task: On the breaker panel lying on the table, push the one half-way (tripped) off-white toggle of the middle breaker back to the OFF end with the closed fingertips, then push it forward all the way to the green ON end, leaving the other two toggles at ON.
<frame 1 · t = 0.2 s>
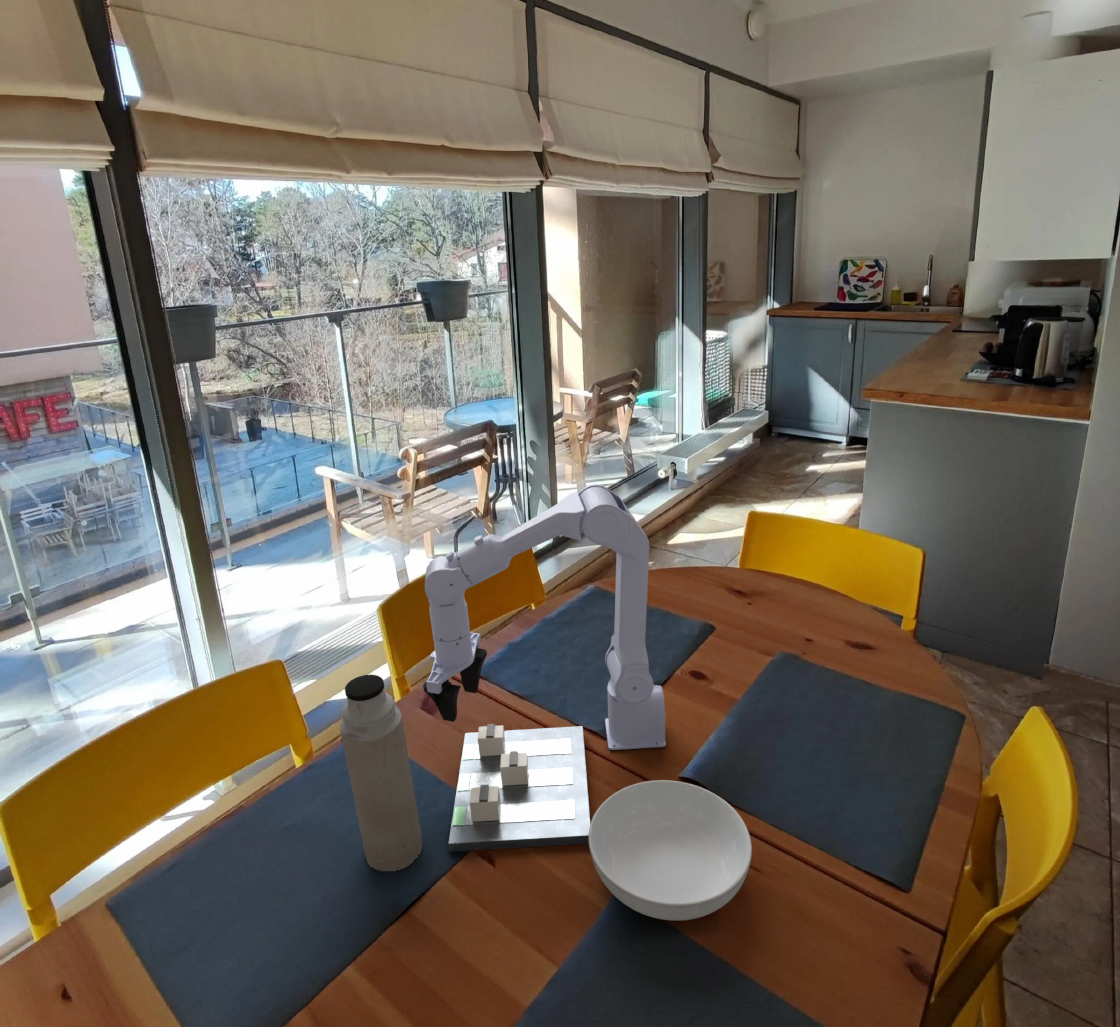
hand: (460, 705, 120), 10 cm above the table, fingers open, 7 cm apart
serving bowl: (669, 875, 99), on the table
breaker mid: (514, 767, 114), point 4 cm above the table, slide at 0.0 cm
panel: (522, 786, 116), on the table
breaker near: (485, 802, 108), point 4 cm above the table, slide at 4.0 cm
thermos bottle: (394, 850, 105), on the table
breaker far: (491, 739, 121), point 4 cm above the table, slide at 4.0 cm
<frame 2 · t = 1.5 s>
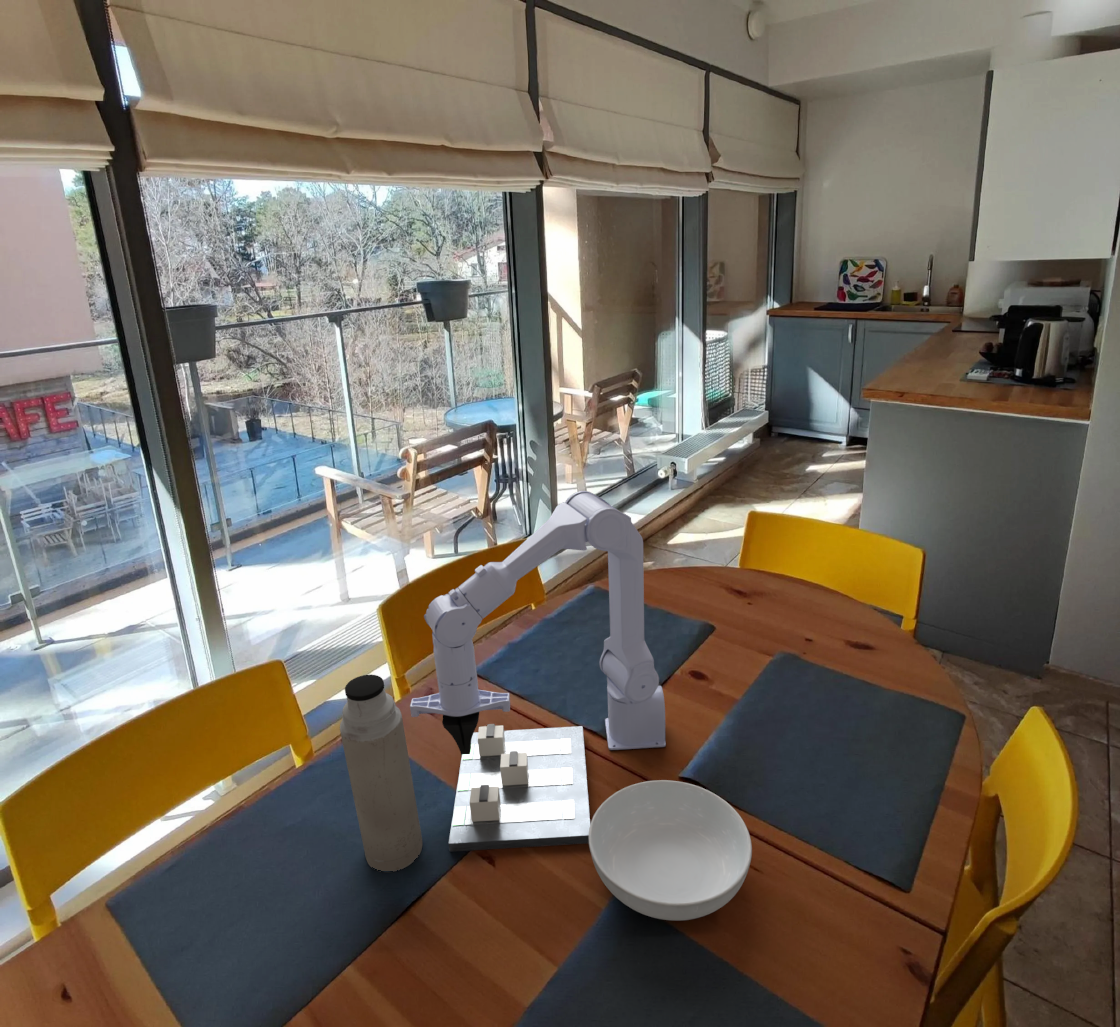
hand: (466, 750, 113), 8 cm above the table, fingers closed
nothing on the table moved.
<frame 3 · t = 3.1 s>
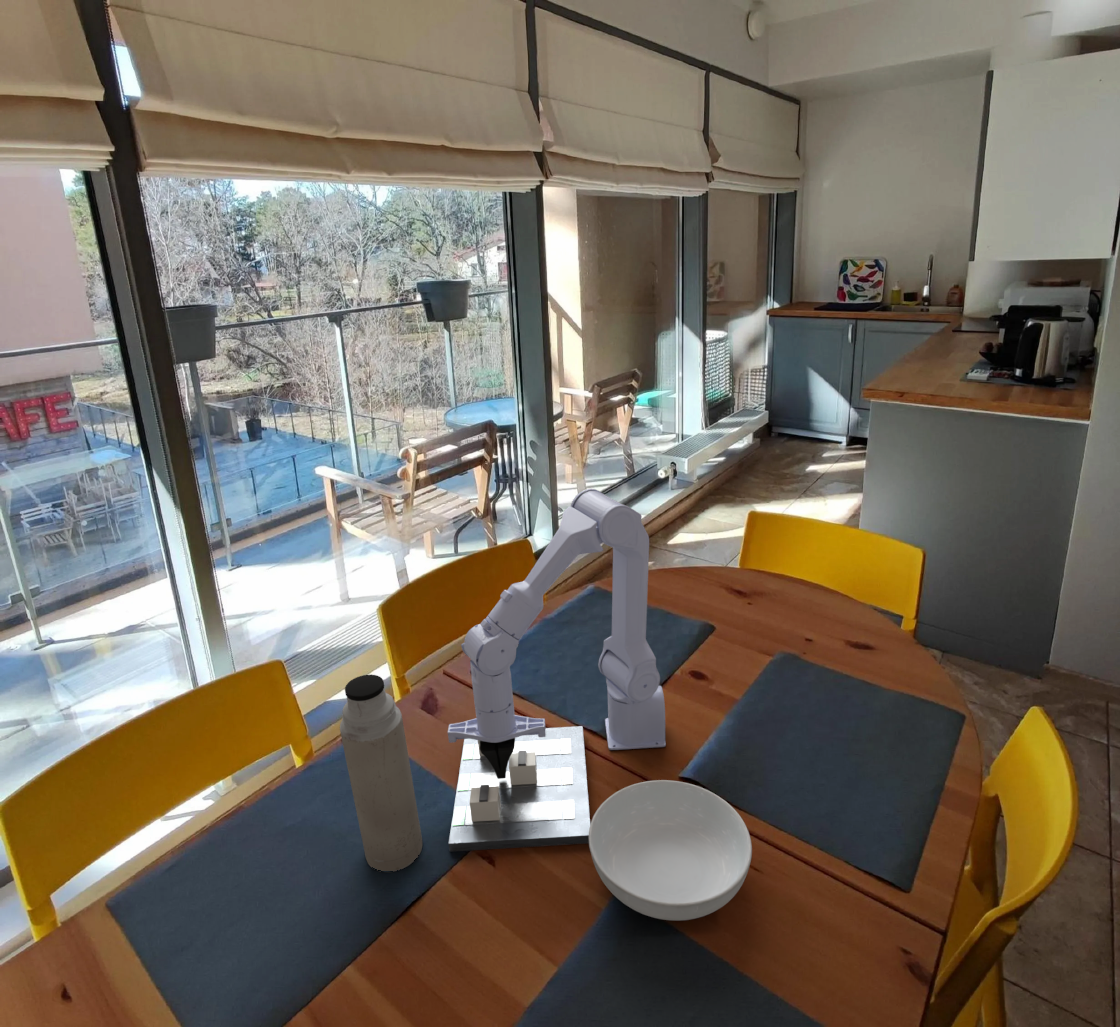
hand: (501, 774, 115), 3 cm above the table, fingers closed
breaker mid: (523, 767, 114), point 4 cm above the table, slide at -1.3 cm, touching gripper
everything else where it was.
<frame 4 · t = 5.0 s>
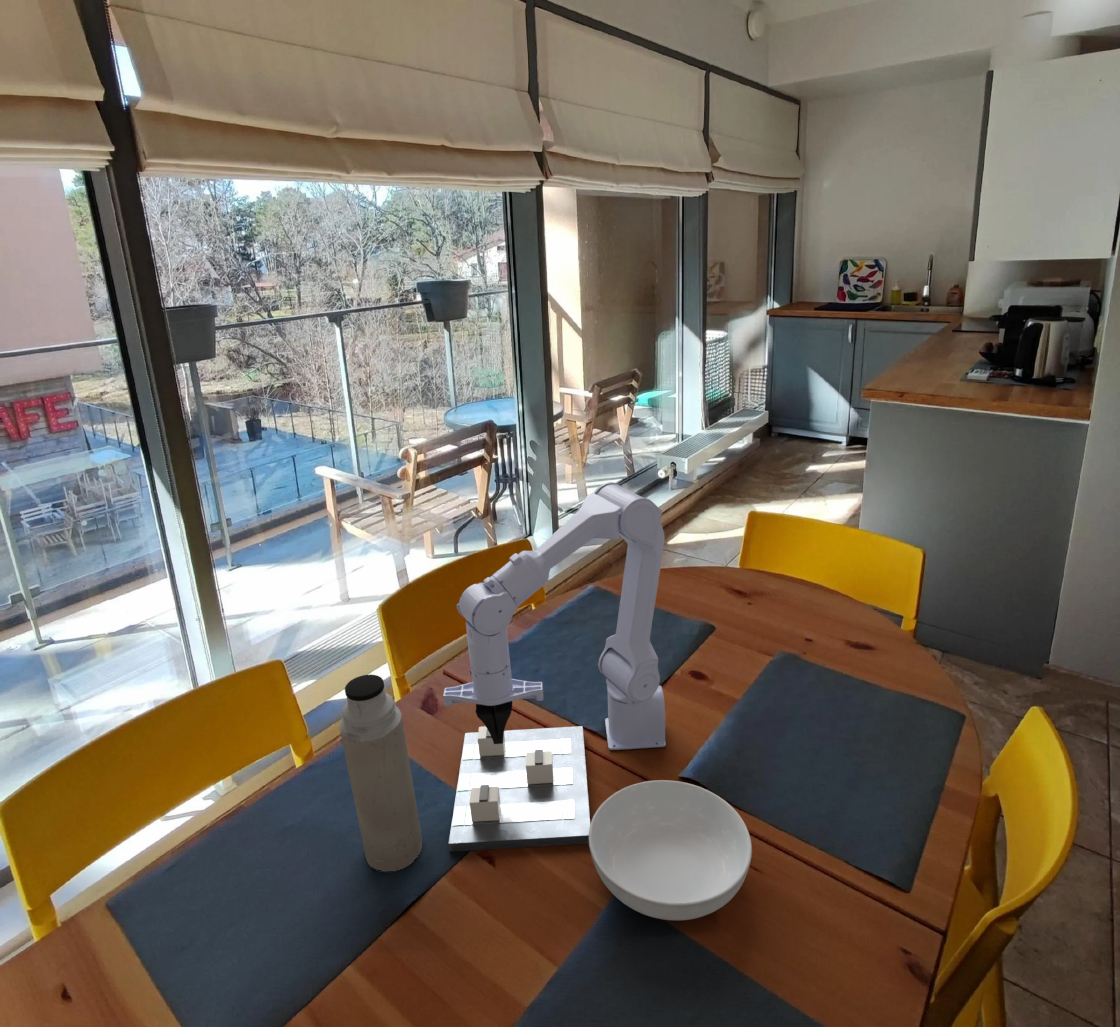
hand: (498, 739, 112), 9 cm above the table, fingers closed
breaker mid: (539, 766, 114), point 4 cm above the table, slide at -3.9 cm
everything else where it was.
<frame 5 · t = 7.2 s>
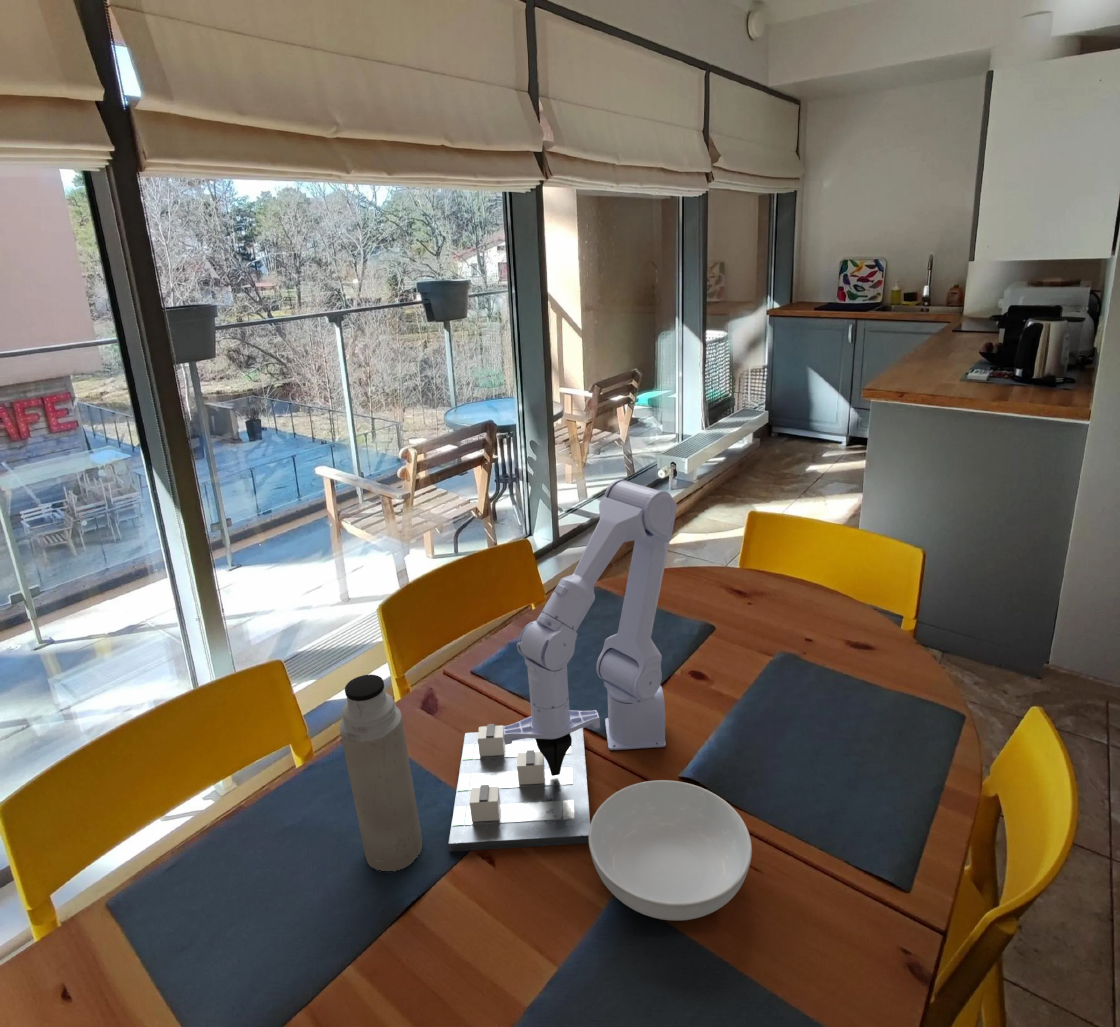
hand: (554, 771, 114), 3 cm above the table, fingers closed
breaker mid: (531, 766, 114), point 4 cm above the table, slide at -2.5 cm, touching gripper
everything else where it was.
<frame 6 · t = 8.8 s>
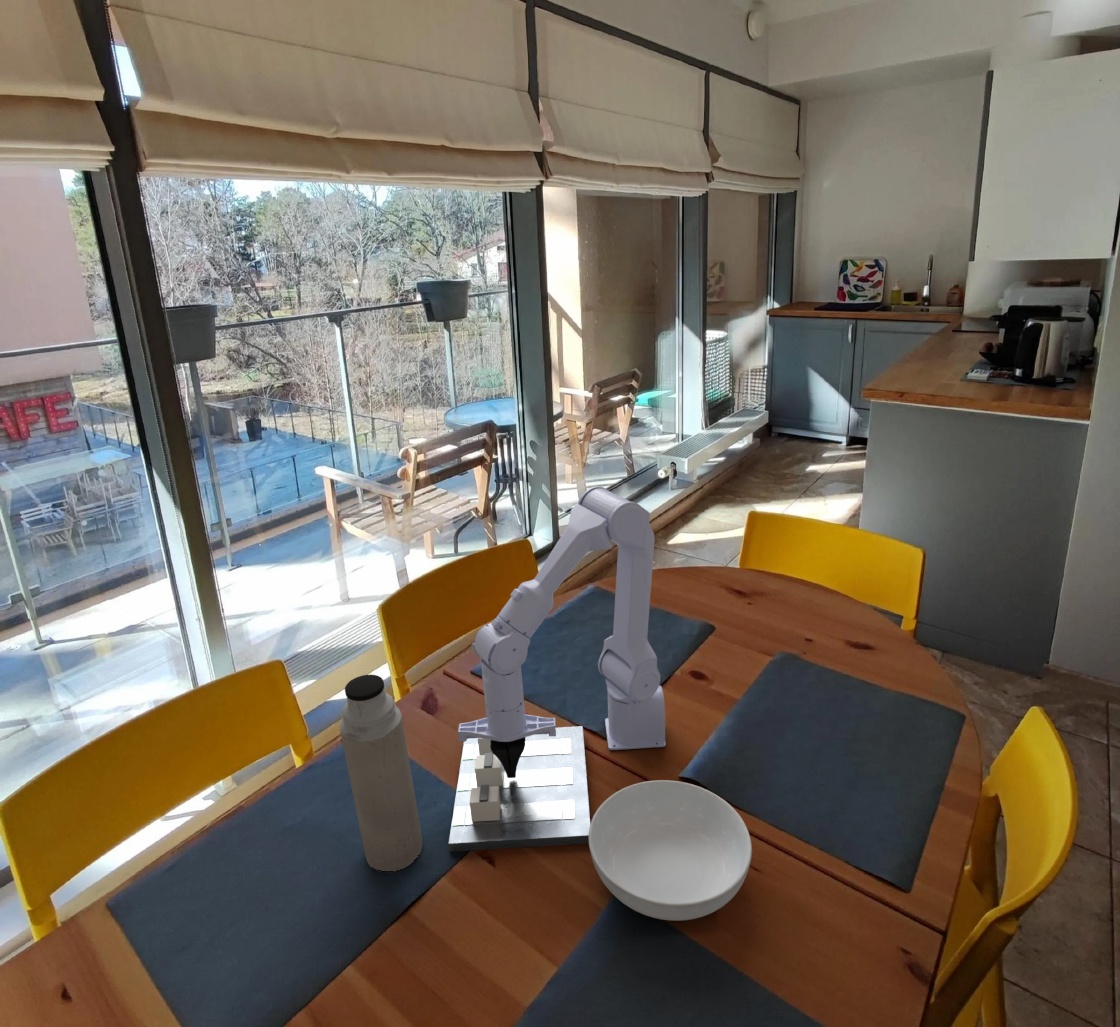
hand: (511, 773, 114), 3 cm above the table, fingers closed
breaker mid: (489, 769, 114), point 4 cm above the table, slide at 3.9 cm, touching gripper
everything else where it was.
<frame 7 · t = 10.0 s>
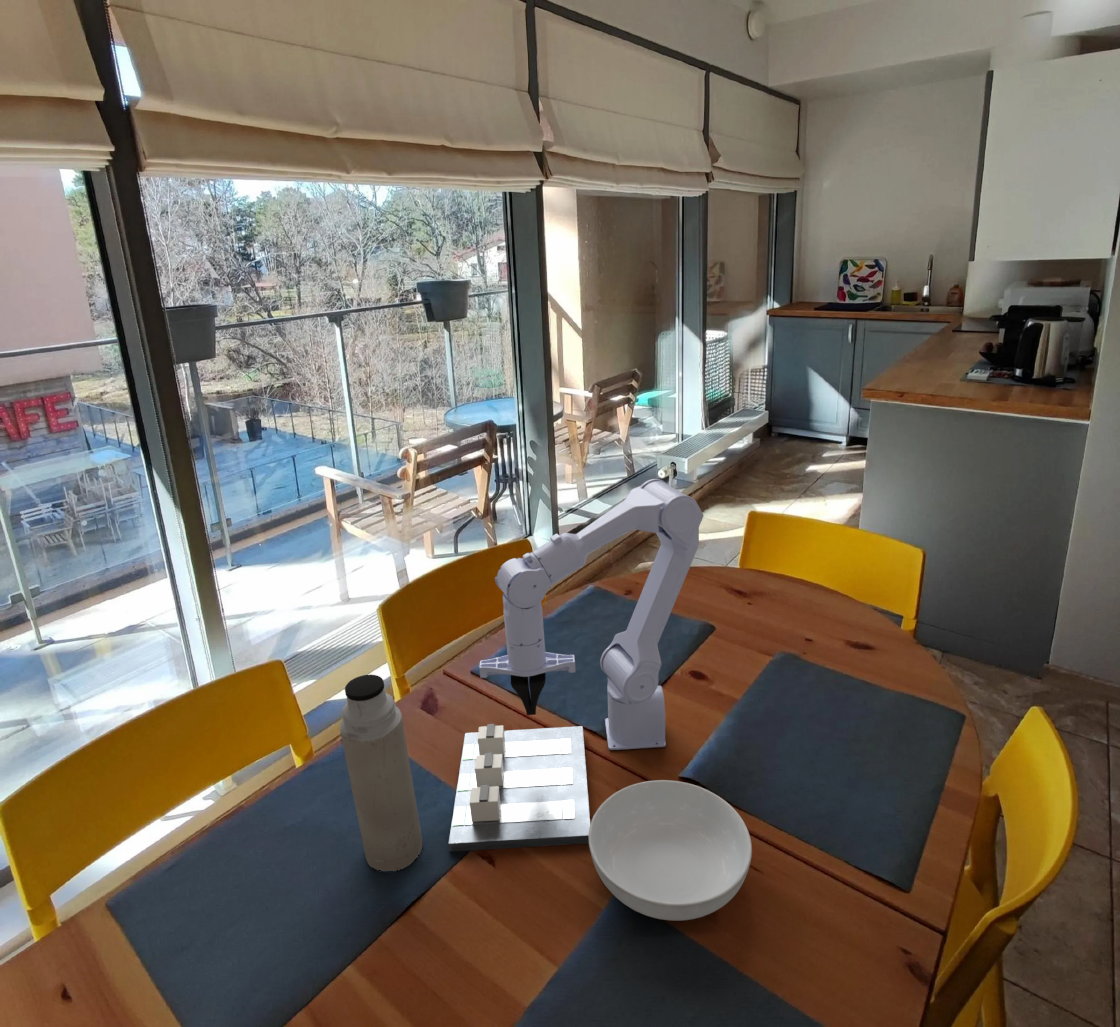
hand: (531, 711, 116), 10 cm above the table, fingers closed
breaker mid: (489, 769, 114), point 4 cm above the table, slide at 3.9 cm
everything else where it was.
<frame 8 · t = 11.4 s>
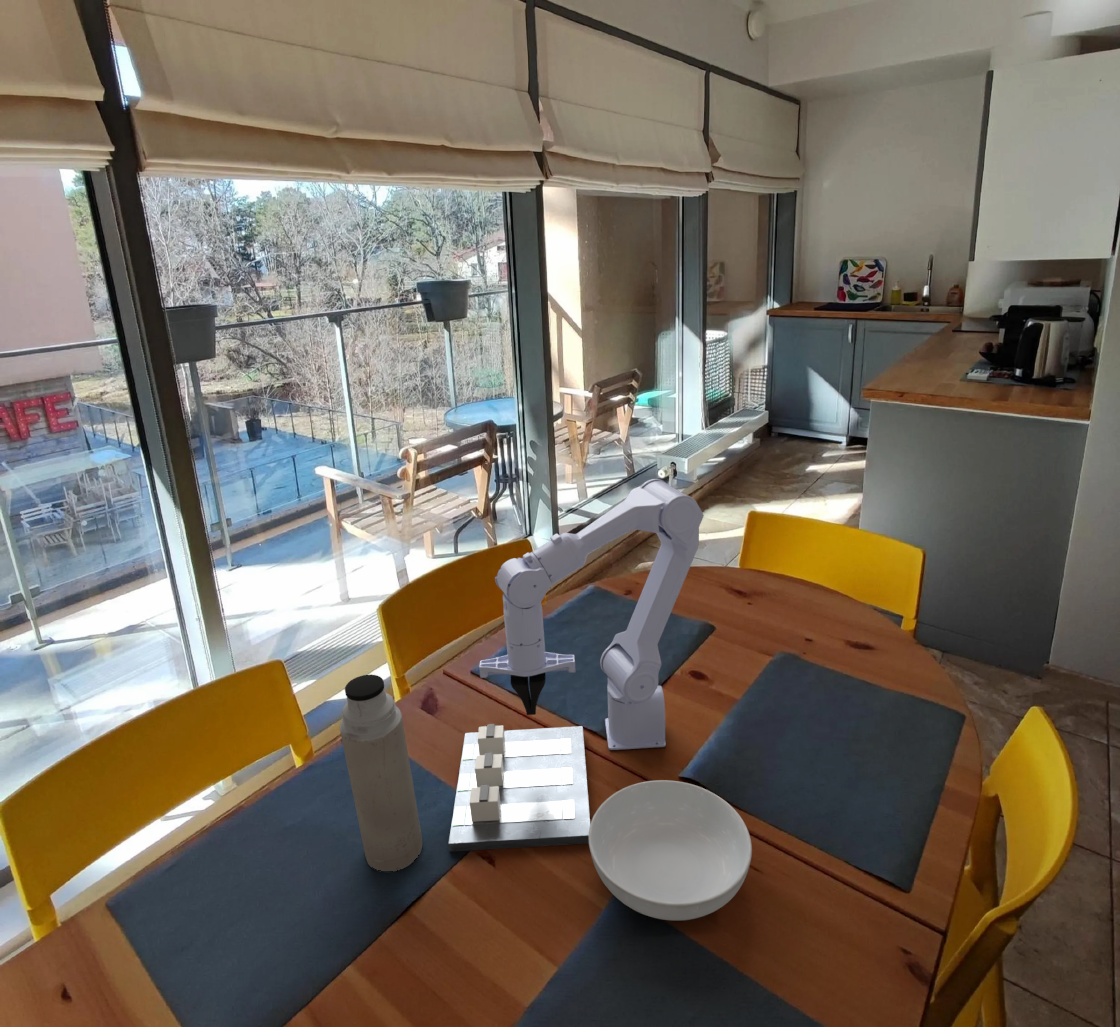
hand: (531, 710, 116), 10 cm above the table, fingers closed
nothing on the table moved.
at the end: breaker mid slide at 3.9 cm; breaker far slide at 4.0 cm; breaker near slide at 4.0 cm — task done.
